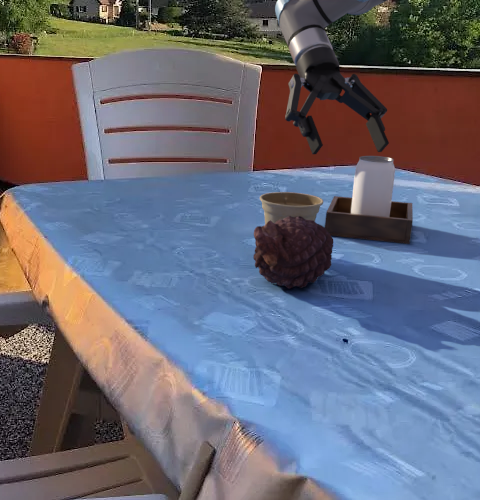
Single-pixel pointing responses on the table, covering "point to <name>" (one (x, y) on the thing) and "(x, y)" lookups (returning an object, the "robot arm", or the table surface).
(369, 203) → the can
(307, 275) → the pine cone
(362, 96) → the robot arm
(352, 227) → the wooden box
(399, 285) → the table surface
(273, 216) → the flower pot
